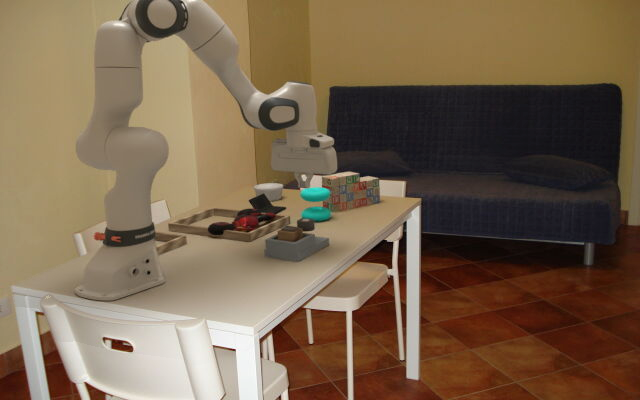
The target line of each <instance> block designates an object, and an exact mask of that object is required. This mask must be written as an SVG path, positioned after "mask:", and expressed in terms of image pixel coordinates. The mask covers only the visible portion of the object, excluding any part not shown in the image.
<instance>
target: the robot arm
mask: <svg viewBox="0 0 640 400" xmlns="http://www.w3.org/2000/svg"><path fill="white" fill-rule="evenodd" d="M95 35H96V36H95V42H94V49H93V50H94V52H93V55H94V57H93V62H94V63H93V66H94V101H93V102H94V103H93V108H92V112H91V116H90V117H89V121H88V123H87V125H86V127H85V128H84V129H83V130H82V131H81V132H80V133H79V135H78V136H77V138H76V142H75V152H76V156H77V158H78V160H79V161H80V162H81V163H82V164H84V165H86V166H87V167H91V168H94V169H97V170H99V171H112V172H113V171H114V172H115V173H116V174H115V181H114V182H115V183H114V186H113V187H112V188H111V189H109V190H108V191H107V192H106V193H105V195H104V198H103V204H104V205H103V206H104V213H105V214H104V215H105V221H106V223H105V224H106V227H105V228H104V233H103V232H99V231H96V232H95V233H94V234H93V239H94V240H95V241H100V242H102V245H101V246H100V247H99V249H98V250H97V251H96V252H95V254H94V255H93V256H92V258H91V259H90V260H89V261H88V262H87V264H86V265H85V267H84V270H83V283H81V284H80V285H78V286H77V287H75V288H74V294H75V295H77V296H79V297H81V298H85V299H89V300H93V301H94V300H95V301H115V300H119V299H122V298H124V297H128V296H130V295H133V294H136V293H140V292H143V291H145V290H148V289H150V288H154V287H156V286H159V285H163V284H164V283H165V282H166V281H165V278H164V277H165V273H164V271H163V268H162V265H161V262H160V258H159V255H158V253H157V249H156V246H157V245H156V242H155V241H156V240H154V237H155V231H156V228H155V222H154V221H153V215H152V204H151V203H152V202H151V198H152V197H151V194H152V192H151V191H152V187H153V183H154V180H155V177H156V175H157V173H158V172H159V171H160V170H161V169H162V168H163V167H164V166H165V164H166V162H167V161H168V157H169V154H170V151H169V149H170V148H169V144H168V140H167V139H166V137H165V136H164V134H163V133H161V132H160V131H158V130H155V129H152V128H148V127H144V126H130V119H131V117H132V115H133V112H134V111H135V109H137V108H139V107H140V105H141V104H142V103H143V100H144V88H143V87H144V83H143V81H144V80H143V79H144V78H143V62H142V61H143V60H142V55H143V49H144V46H145V44H146V43H150V42H158V41H161V40H164V39H166V38H169V37H171V36H173V35H174V36H177V37H178V38H180V39H181V40H182V41H183V42H184V43H185V44H186V46H187V47H188V48H189V49H190V50H191V51H192V53H193V54H194V55H195V56H196V58H198V59H199V61H201V63H202V64H203V65H205V66H206V67H207V68H208V69H209V70H210V71H211V72H213V74H215V76H217V77H218V79H219V80H220V81H221V83H222V84H223V85H224V87H225V88H226V89H227V90H228V92H229V93H230V95H231V96H232V97H233V98H234V100H235V101H236V102H237V104H238V107H239V110H240V113H241V115H242V118H243V121H244V122H245V123H246V124H247V125H248V126H249V127H251V128H253V129H258V130H265V131H269V132H278V131H280V130H285V136H286V137H285V138H275V139H274V140H273V141H272V142H271V154H270V155H271V156H270V167H271V169H272V170H273V171H275V172H289V173H294V174H293V175H294V178H295V179H296V181H297V184H298V188H300V189H307V188H311V181H312V180H313V179H312V178H313V177H314V175H326V176H327V175H333V174H336V173H337V170H338V158H337V152H336V150H335V148H334V145H335V139H334V138H333V137H331V136H329V135H326V134H324V133H322V132H320V131H318V124H317V120H316V119H317V114H318V111H317V97H316V92H315V91H316V90H315V87H314V86H313V85H312V84H311V83H309V82H304V81H296V80H288V81H286V83H285V84H283V86H281V87H279V89H276V91H275V90H274V92H272V93H269V94H266V93H264V92H262V91H260V90H258V89H257V88H256V86H255V85H253V83H252V81H250V79H249V78H248V77H247V75H246V74H245V73H244V71H243V70H242V68H241V67H240V64H239V61H238V56H239V52H240V44H239V42H238V40H237V39H236V36H235V34H234V33H233V32H232V30H231V29H230V28H229V26H228V25H227V23H225V20H223V19H222V17H221V16H219V14H218V13H217V12H216V11H215V10H214V9H213V8H212V7H211V6H210V5H208V3H207V2H206V1H204V0H131V1H130V2H129V3H128V4H127V5H126V6H125V8H124V9H123V11H122V13H121V14H120V17H119V19H118V20H108V21H106V22H104V23H102V24H101V25H99V26H98V28H97V31H96V34H95ZM303 174H305V177H306V179H305V180H304V179H303V176H302V175H303Z"/></svg>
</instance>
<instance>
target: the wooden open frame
mask: <svg viewBox="0 0 640 400" xmlns="http://www.w3.org/2000/svg"><path fill="white" fill-rule="evenodd" d="M239 211H241V210H240V209H230V208H224V207H223V208H221V207H215V206H213V207H210V208H207V209H205V210H201V211H199V212H196V213H193V214H191V215H188V216H185V217H181V218H179V219H176V220H173V221H171V222H168V223H167V227H168V232H175V233H182V234H183V233H184V234H190V235H197V236H198V235H199V236H202V237H203V236H204V237H205V236H206V237H211V238H219V239H225V240H226V239H227V240H232V241H233V240H234V241H239V242H240V241H241V242H247V243H249V242H250V243H251V242H252V241H254V240H257V239H259V238H261V237H263V236H265V235H268V234H270V233H272V232H274V231H276V230H278V229H279V230H280V229H281V228H283V227H285V226H288V225H289V224H291V215H285V214H279V213H277V214H276V215H275V217H274V218H273V219H271V220H266V221H265V222H270V223H266V224H265V225H263V226H260V227H257V228H258V229H255V230H253V231H245V232H239V231H235V230H233V231H231V230H225V231H224V233H223V234H222V235H213V234H211V233H209V231H208V227H209V226H208V227H207V226H198V225H192V224H194V223H196V222H200V221H202V220H206V219H208V218H210V217H213V216H218V217H219V216H220V217H226V218H234V219H235V218H236V217H237V214H238V212H239ZM265 214H266V213H261V216H263V215H265ZM191 223H192V224H191Z"/></svg>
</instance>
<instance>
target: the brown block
mask: <svg viewBox="0 0 640 400" xmlns="http://www.w3.org/2000/svg"><path fill="white" fill-rule="evenodd" d="M303 233H304V232H303V228H299V227H297V226H292V225H285V226H283V227H281V228H280V229H279V230H278V231H277V234H278V240H281V241H289V242H297V241H298V240H300V239H302V238H303Z"/></svg>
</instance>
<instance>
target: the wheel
mask: <svg viewBox="0 0 640 400" xmlns="http://www.w3.org/2000/svg"><path fill="white" fill-rule="evenodd" d="M296 225H297V226H296V227H299V228H303V233H307V232H312V231H314V230H315V228H316V227H315V226H316V224H315V222H314V220H313V219H303V218H299V219H297V220H296Z"/></svg>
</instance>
